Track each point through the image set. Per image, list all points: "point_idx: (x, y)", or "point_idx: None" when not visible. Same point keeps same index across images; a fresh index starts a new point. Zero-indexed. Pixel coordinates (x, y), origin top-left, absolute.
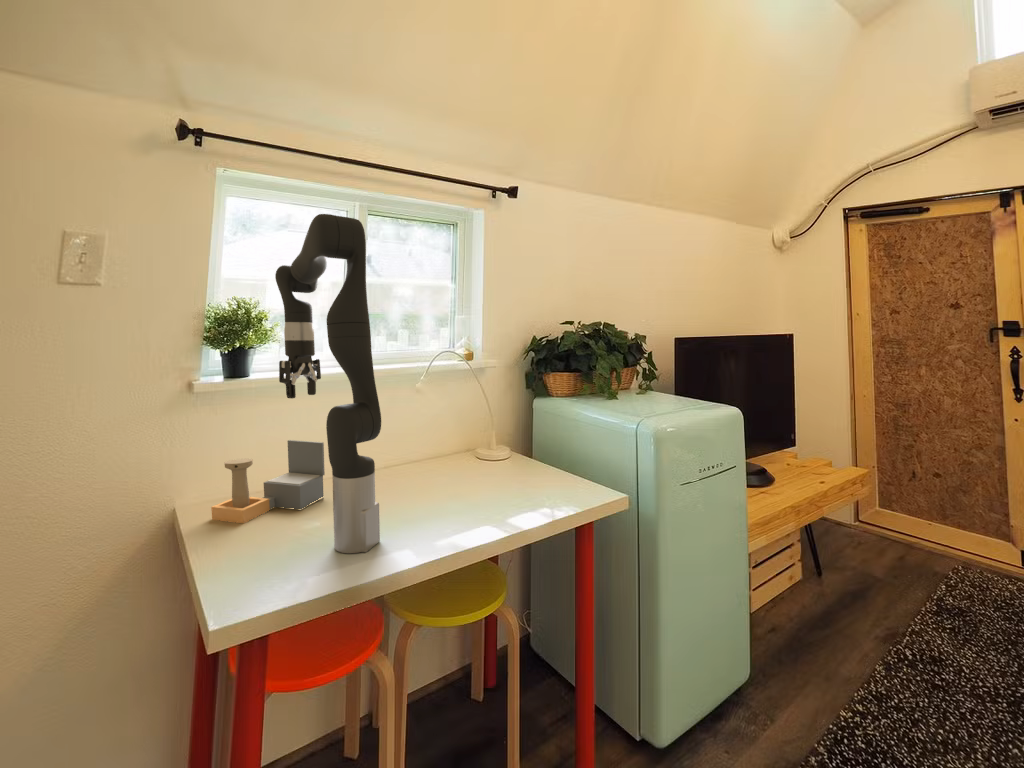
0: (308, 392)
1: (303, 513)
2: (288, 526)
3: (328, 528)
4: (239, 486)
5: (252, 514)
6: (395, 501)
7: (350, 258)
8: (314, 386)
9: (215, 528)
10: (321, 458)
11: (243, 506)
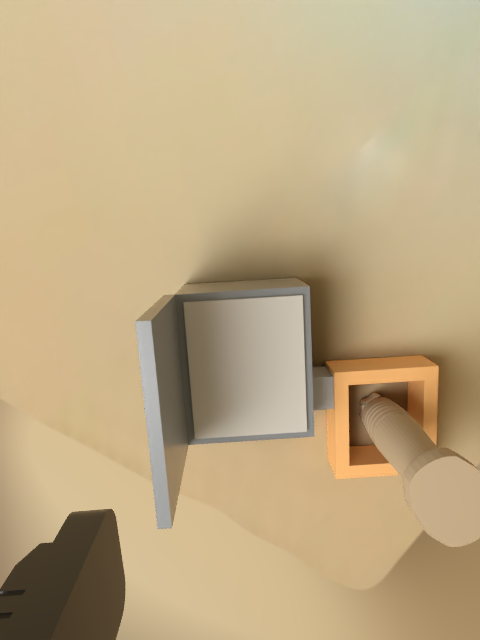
0: (118, 613)
1: (313, 251)
2: (407, 220)
3: (390, 91)
4: (428, 436)
5: (394, 360)
6: (120, 12)
7: None
8: (44, 612)
9: (463, 395)
10: (164, 310)
11: (394, 402)
